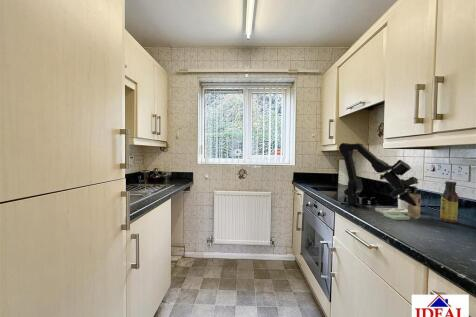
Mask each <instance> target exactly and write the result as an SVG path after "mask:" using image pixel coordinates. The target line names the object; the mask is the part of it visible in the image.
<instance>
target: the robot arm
mask: <svg viewBox="0 0 476 317" xmlns="http://www.w3.org/2000/svg"><path fill="white" fill-rule="evenodd" d="M338 150H339V153H340V155H341V156H342V157H343V160H344V163H345V167H346V173H347V177H348V181H347V188H345V190H344V191H343V193H344V195H346V202H343V203H344V204H345V205H348V206H360V204H359V203H358V195H360V194H361V192H362V191H363V189H364V188H363V187H364V185H363V181H362V180H361V179H360V180H359V178H358V176H357V172H356V167H355V163H354V159H353V155H354V151H357V152H358V153H360V154H361V155H362V156H363V158H365V159H366V160H367V161H368V162H369V164H370V165H371V167H372V169H373V170H374V172H376V173H378V174H380V173H381V174H380V176H379V180H381V181H383V180H386V182H387V183H388V184H389V187H390V188H393V191H391V193H390V196H391V197H392V198H393V199H397V200H398V199H401V200H403V201H405V202H407V203H409V204H411V205H413V206H416V203H415V202H414V201H413V199H412V198H411V197H410V194H411V193H414V194H416V192H417V191H418V189H419V188H418V187H417V186H415V185H417V184H419V182H418V181H419V179H418V178H416V177H415V176H411V177H409V178H406V179H404V178H400V177H399V176H403V175H404V174H406V173H408V172H409V171H410V170H411V169H412V168H411V166H410V165H409V164H408V163H406V162H405V161H403V160H402V159H398V160H397V161H396V162H395V163H394V164H393V165H389V163H387V162H385V161H384V160H382V159H380V158H378V157H377V156H376V155H374V153H372V152H371V151H370V150H369V149H368V148H367V147H365V145H363V144H362V143H358V142H357V143H347V142H342V143H341V144H339V146H338ZM382 173H383V174H382ZM398 195H399V196H400V197H398Z"/></svg>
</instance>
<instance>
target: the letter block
mask: <svg viewBox="0 0 476 317" xmlns="http://www.w3.org/2000/svg"><path fill="white" fill-rule="evenodd" d="M410 197H411V198H412V199H413V201H414V202H415V203H416V206H413V205H411V204H409V203H408V215H407V216H409V217H410V219H411V218H412V219H416V220H417V219H421V218H420V217H421V201H422V200H421V199H422V194H421V193H420V194H419V193H415V194H414V193H411V194H410Z"/></svg>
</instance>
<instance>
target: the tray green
mask: <svg viewBox="0 0 476 317" xmlns="http://www.w3.org/2000/svg"><path fill="white" fill-rule="evenodd" d="M383 216H385V217H386V218H389V219H392V220H393V221H411V218H410V217H409V216H408V215H403V214H400V213H384V214H383Z"/></svg>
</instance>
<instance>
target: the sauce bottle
mask: <svg viewBox="0 0 476 317" xmlns="http://www.w3.org/2000/svg"><path fill="white" fill-rule="evenodd" d="M444 184H445V185H444V190H443V193H442V195H441V197H440V198H441V199H440V212H439V213H440V214H439V216H440V217H439V218H440V220H441V222H444V223H445V222H446V223H451V224H456V223H457V220H458V210H459V208H458V207H459V195H458V193H457V190H456V186H457V181H454V180H445V182H444Z"/></svg>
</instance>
